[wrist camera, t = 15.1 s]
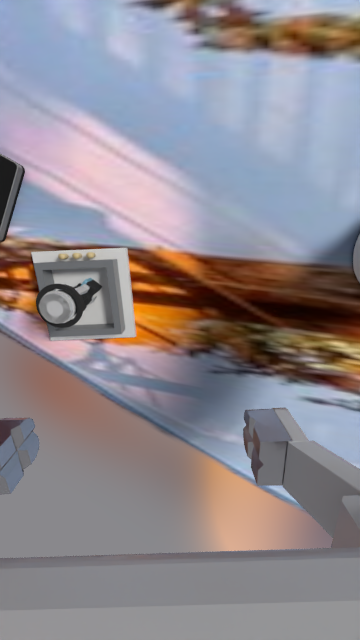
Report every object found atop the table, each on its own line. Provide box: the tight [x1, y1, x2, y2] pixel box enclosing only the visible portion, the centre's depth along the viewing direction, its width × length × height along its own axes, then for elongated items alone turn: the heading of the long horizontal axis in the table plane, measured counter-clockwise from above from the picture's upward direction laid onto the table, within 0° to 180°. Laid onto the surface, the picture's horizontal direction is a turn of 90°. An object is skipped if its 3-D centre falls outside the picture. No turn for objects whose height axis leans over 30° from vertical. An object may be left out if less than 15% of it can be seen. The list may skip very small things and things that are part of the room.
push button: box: [36, 278, 102, 328], centre depth 31 cm, size 7×5×10 cm
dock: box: [31, 248, 136, 341], centre depth 35 cm, size 14×14×3 cm
